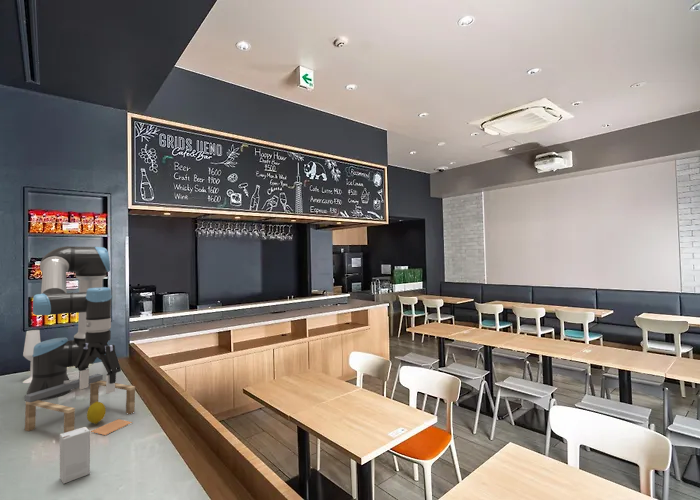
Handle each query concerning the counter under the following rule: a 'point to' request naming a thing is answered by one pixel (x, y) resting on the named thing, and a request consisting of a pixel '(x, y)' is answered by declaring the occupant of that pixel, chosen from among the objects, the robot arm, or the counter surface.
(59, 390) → the bar
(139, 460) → the counter surface
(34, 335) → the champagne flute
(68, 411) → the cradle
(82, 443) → the skincare box
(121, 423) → the pad
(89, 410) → the lemon
